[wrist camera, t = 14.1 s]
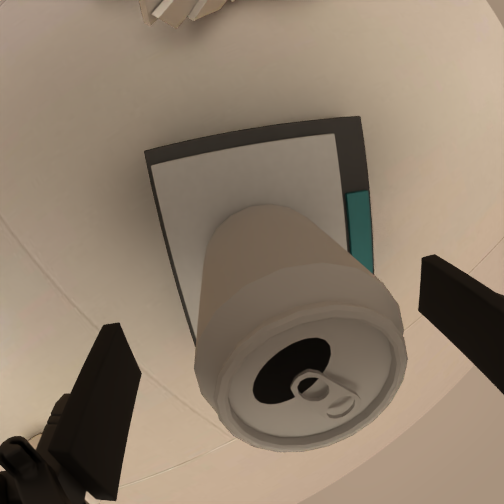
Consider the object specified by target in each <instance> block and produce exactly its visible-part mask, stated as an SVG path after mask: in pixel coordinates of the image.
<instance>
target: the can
mask: <svg viewBox="0 0 504 504" xmlns="http://www.w3.org/2000/svg"><path fill="white" fill-rule="evenodd" d="M403 332H404V328H403V323H402V318H401V313H400V309H399V305H398V303H397V302H396V301H395V299H394V298H393V296H392V295H391V293H390V292H389V291H388V289H387V288H386V287H385V285H384V284H383V283H382V282H381V281H380V280H379V279H378V278H377V277H376V276H374V275H373V274H372V273H371V272H370V271H369V270H368V269H367V268H365V267H364V266H363V265H362V264H361V263H360V262H359V261H358V260H356V259H355V258H354V257H353V256H352V255H351V254H350V253H348V252H347V251H346V250H345V249H344V248H343V247H341V246H340V245H339V244H338V243H337V242H336V241H334V240H333V239H332V238H331V237H330V236H329V235H327V234H326V233H325V232H324V231H323V230H321V229H320V228H319V227H318V226H317V225H316V224H314V223H313V222H312V221H311V220H310V219H308V218H307V217H305V216H304V215H302V214H300V213H298V212H297V211H295V210H293V209H291V208H288V207H283V206H278V205H273V204H267V205H259V206H251V207H248V208H246V209H244V210H242V211H239V212H237V213H235V214H233V215H231V216H230V217H229V218H228V219H227V220H226V221H224V222H223V223H222V224H221V225H220V226H219V227H218V228H217V229H216V230H215V232H214V234H213V236H212V238H211V239H210V241H209V243H208V245H207V247H206V252H205V258H204V264H203V272H202V282H201V292H200V303H199V314H198V325H197V337H196V350H195V364H194V370H195V374H196V377H197V381H198V384H199V388H200V391H201V394H202V395H203V397H204V398H205V399H206V400H207V402H208V403H209V404H210V405H211V406H212V408H213V409H214V410H215V411H216V413H217V414H218V417H219V420H220V421H221V422H222V423H223V425H224V426H225V427H226V428H227V429H228V430H229V431H230V433H231V434H232V435H233V436H235V437H236V438H238V439H240V440H242V441H244V442H246V443H247V444H249V445H251V446H253V447H257V448H261V449H266V450H271V451H275V452H304V451H309V450H313V449H318V448H322V447H326V446H330V445H332V444H334V443H337V442H339V441H341V440H344V439H346V438H348V437H350V436H353V435H354V434H355V433H357V432H358V431H360V430H361V429H363V428H364V427H366V426H367V425H369V424H370V423H371V422H373V421H374V420H375V419H376V418H377V417H378V416H379V415H380V414H381V413H382V412H383V411H384V409H385V408H386V407H387V406H388V405H389V404H390V403H391V401H392V400H393V398H394V396H395V394H396V393H397V391H398V389H399V387H400V385H401V384H402V382H403V379H404V374H405V370H406V365H407V360H408V357H407V352H406V346H405V341H404V337H403Z"/></svg>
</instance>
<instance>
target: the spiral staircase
mask: <svg viewBox="0 0 504 504" xmlns="http://www.w3.org/2000/svg"><path fill="white" fill-rule="evenodd" d="M226 1H227V0H139V4H140V8H141V12H142V16H143V20H144V23H146V24H147V25H149V26H151V25H152V24H153V23H154V22H155V21H156V20H157V19H158V18H159V19H160V20H162V21H164V22H165V23H167V24H169V25H170V26H172V27H174V28H175V29H177V28H178V26H179V25H180V24H181V23H182V22H183V21H184V20H185V18H186V17H187V16H188V18H189V19H191V20H192V21H194V20H197V19H199V18H201V17H203V16H206V15H208V14H210V13H213V12H215V11H218V10H220V9H221V8H222V6H223V5H224V4H225V2H226ZM230 1H231V2H233V1H234V0H230Z"/></svg>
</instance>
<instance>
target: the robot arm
mask: <svg viewBox="0 0 504 504" xmlns="http://www.w3.org/2000/svg"><path fill="white" fill-rule="evenodd" d="M418 311H419V312H420V313H421V314H422V315H424V316H425V317H426V318H427V319H428V320H429V321H430V322H431V323H432V324H433V325H434V326H435V327H436V328H437V329H438V330H440V331H441V332H442V333H443V334H444V335H445V336H446V337H447V338H448V339H449V340H450V341H451V342H452V343H453V344H454V345H455V346H456V347H457V348H458V349H459V350H460V351H461V352H462V353H463V354H464V355H465V356H466V357H467V358H468V359H469V360H470V361H471V362H472V363H473V364H474V365H475V366H477V368H478V369H479V370H480V371H481V372H482V373H484V375H485V376H486V377H487V378H488V379H489V380H490V381H491V382H492V383H493V384H494V385H495V386H496V387H497V388H498V389H499V390H500V391H501V392H502V393H503V394H504V295H501V294H498V293H495V292H494V291H492V290H491V289H489V288H488V287H486V286H485V285H483V284H482V283H480V282H479V281H477V280H476V279H474V278H472V277H471V276H469V275H468V274H466V273H465V272H463V271H461V270H460V269H458V268H457V267H455V266H453V265H452V264H450V263H448V262H447V261H445V260H443V259H442V258H440V257H438V256H437V255H435V254H434V255H430V256H426V257H423V258H422V264H421V283H420V297H419V308H418ZM141 374H142V373H141V371H140V369H139V367H138V365H137V362H136V360H135V358H134V356H133V354H132V351H131V349H130V347H129V344H128V342H127V340H126V337H125V335H124V333H123V330H122V328H121V325H120V323H113V324H106V325H103V327H102V329H101V330H100V332H99V334H98V336H97V338H96V340H95V342H94V344H93V346H92V348H91V351H90V353H89V355H88V357H87V359H86V361H85V363H84V365H83V367H82V369H81V371H80V374H79V376H78V378H77V380H76V382H75V385H74V387H73V389H72V391H71V394H64V395H63V396H62V397H61V398H60V399H59V400H58V401H57V402H56V404H55V406H54V408H53V410H52V412H51V416H50V417H49V419H48V421H47V424H46V426H45V428H44V431H43V433H42V435H41V438H40V440H39V443H38V445H37V448H36V450H35V449H34V448H33V447H32V445H31V444H30V443H29V442H28V441H27V439H25V438H23V437H21V436H14V437H11V438H8V439H7V440H6V441H4V442H3V443H2V444H1V446H0V465H1V466H2V467H3V468H4V469H5V470H6V471H1V472H0V504H89V503H88V502H87V501H86V500H85V496H86V491H87V492H88V493H89V494H91V495H92V496H93V497H94V498H95V499H98V500H109V501H116V499H117V493H118V487H119V481H120V475H121V469H122V463H123V458H124V453H125V447H126V442H127V437H128V432H129V427H130V422H131V418H132V413H133V409H134V404H135V400H136V395H137V391H138V387H139V382H140V378H141Z"/></svg>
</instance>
